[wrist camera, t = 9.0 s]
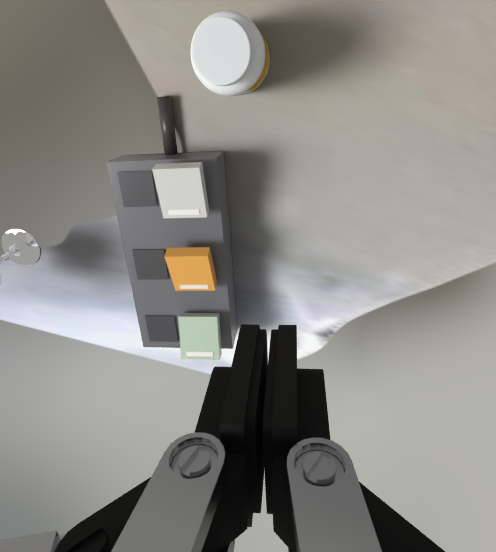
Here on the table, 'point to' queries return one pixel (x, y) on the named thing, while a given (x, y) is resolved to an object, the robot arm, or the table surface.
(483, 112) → the table surface
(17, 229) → the wineglass
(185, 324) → the green rocker
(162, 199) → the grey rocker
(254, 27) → the supplement bottle
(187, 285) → the orange white-striped slab
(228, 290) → the power strip
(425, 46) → the table surface
